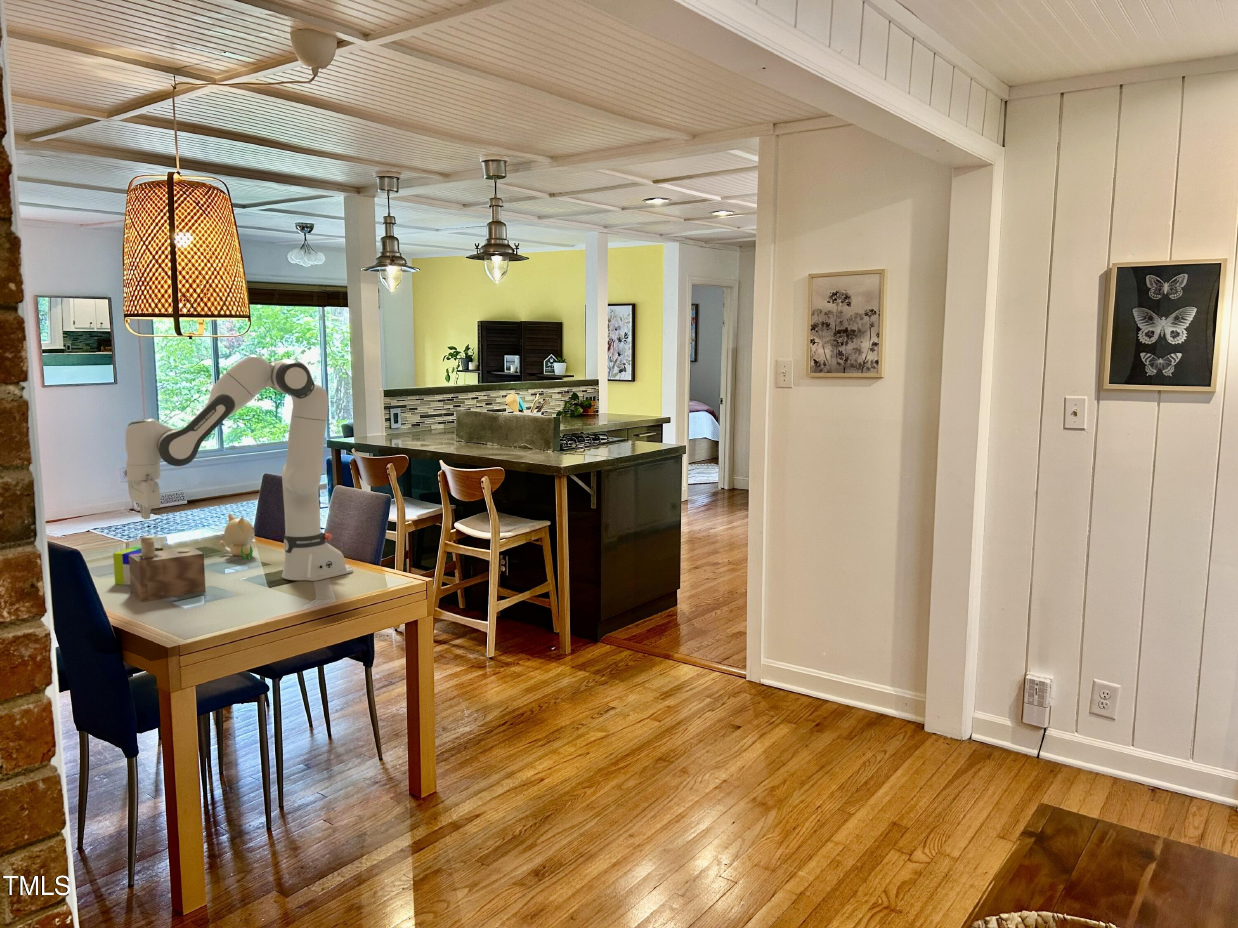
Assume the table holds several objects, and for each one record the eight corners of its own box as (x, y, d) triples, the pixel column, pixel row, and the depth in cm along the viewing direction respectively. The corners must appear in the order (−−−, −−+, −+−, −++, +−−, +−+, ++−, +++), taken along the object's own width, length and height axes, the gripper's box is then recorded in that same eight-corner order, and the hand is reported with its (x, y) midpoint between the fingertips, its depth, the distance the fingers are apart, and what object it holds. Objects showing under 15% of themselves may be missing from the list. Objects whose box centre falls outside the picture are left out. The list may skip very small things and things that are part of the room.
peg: (154, 572, 269) (152, 535, 267) (157, 574, 266) (155, 537, 265) (141, 573, 267) (139, 536, 265) (144, 576, 264) (142, 538, 262)
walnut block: (193, 583, 281) (191, 545, 279) (205, 591, 272) (203, 552, 271) (131, 593, 269) (128, 553, 267) (141, 601, 260) (139, 561, 259)
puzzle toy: (142, 585, 277) (140, 555, 276) (115, 583, 279) (113, 553, 278) (164, 578, 287) (162, 548, 286) (138, 576, 289) (136, 546, 288)
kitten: (264, 556, 318) (262, 515, 316) (237, 561, 310) (235, 519, 308) (245, 549, 328) (243, 510, 326) (218, 554, 320) (216, 514, 318)
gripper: (165, 476, 257) (167, 522, 259) (146, 468, 272) (147, 512, 274) (141, 478, 253) (143, 525, 254) (123, 470, 268) (125, 514, 269)
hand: (145, 518), depth 264 cm, fingers closed
